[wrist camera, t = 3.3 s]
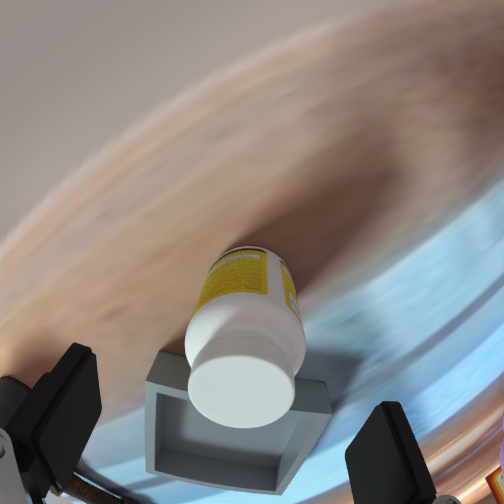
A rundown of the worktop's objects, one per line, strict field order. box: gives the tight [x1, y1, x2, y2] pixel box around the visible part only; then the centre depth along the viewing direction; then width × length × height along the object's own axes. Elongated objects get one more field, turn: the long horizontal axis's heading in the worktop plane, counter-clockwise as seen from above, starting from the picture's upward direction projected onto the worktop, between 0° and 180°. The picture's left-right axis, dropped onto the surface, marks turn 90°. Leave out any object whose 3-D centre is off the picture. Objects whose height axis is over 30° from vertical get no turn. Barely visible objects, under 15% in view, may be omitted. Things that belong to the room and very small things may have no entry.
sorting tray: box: [145, 351, 333, 495], centre depth 23 cm, size 13×13×4 cm
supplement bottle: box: [185, 246, 306, 428], centre depth 15 cm, size 5×5×10 cm
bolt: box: [51, 474, 137, 504], centre depth 29 cm, size 6×5×15 cm
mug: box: [0, 376, 32, 430], centre depth 21 cm, size 12×9×11 cm
